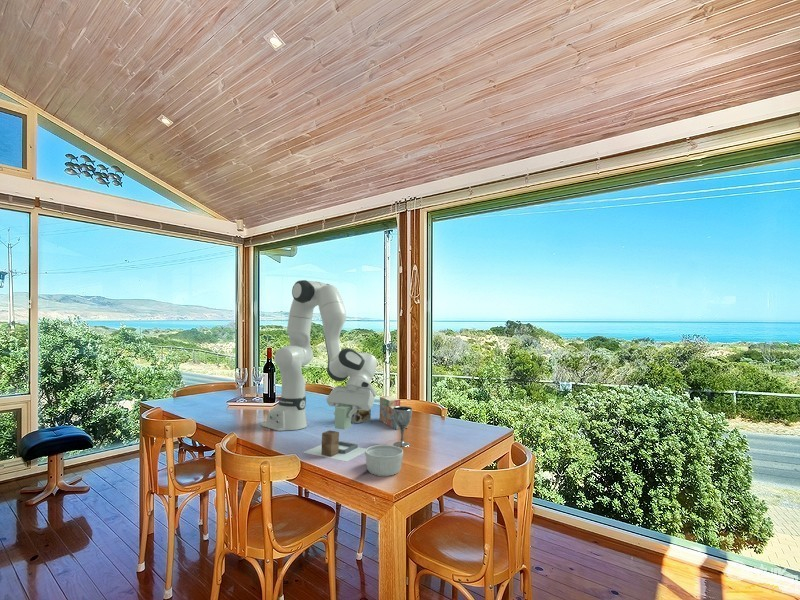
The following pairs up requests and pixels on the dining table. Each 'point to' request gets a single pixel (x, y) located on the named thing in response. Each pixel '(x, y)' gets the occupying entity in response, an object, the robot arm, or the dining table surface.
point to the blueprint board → (340, 451)
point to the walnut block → (330, 443)
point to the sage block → (342, 417)
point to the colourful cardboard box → (388, 410)
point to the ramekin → (383, 459)
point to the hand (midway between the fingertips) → (342, 416)
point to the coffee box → (361, 416)
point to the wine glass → (402, 421)
